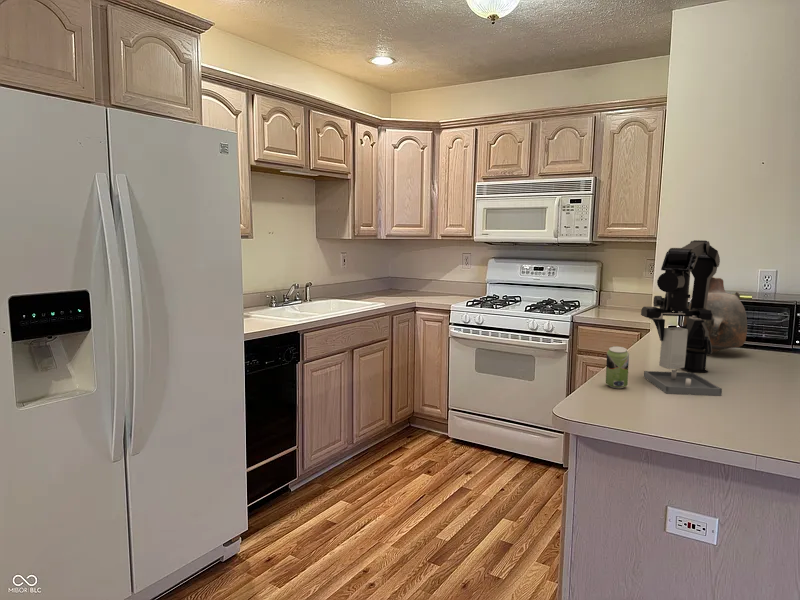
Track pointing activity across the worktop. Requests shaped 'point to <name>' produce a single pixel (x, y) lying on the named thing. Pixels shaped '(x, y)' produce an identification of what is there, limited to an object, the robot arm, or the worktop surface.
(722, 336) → the jug
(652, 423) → the worktop surface
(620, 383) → the beverage can
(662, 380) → the tray
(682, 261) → the robot arm
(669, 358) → the skincare box
